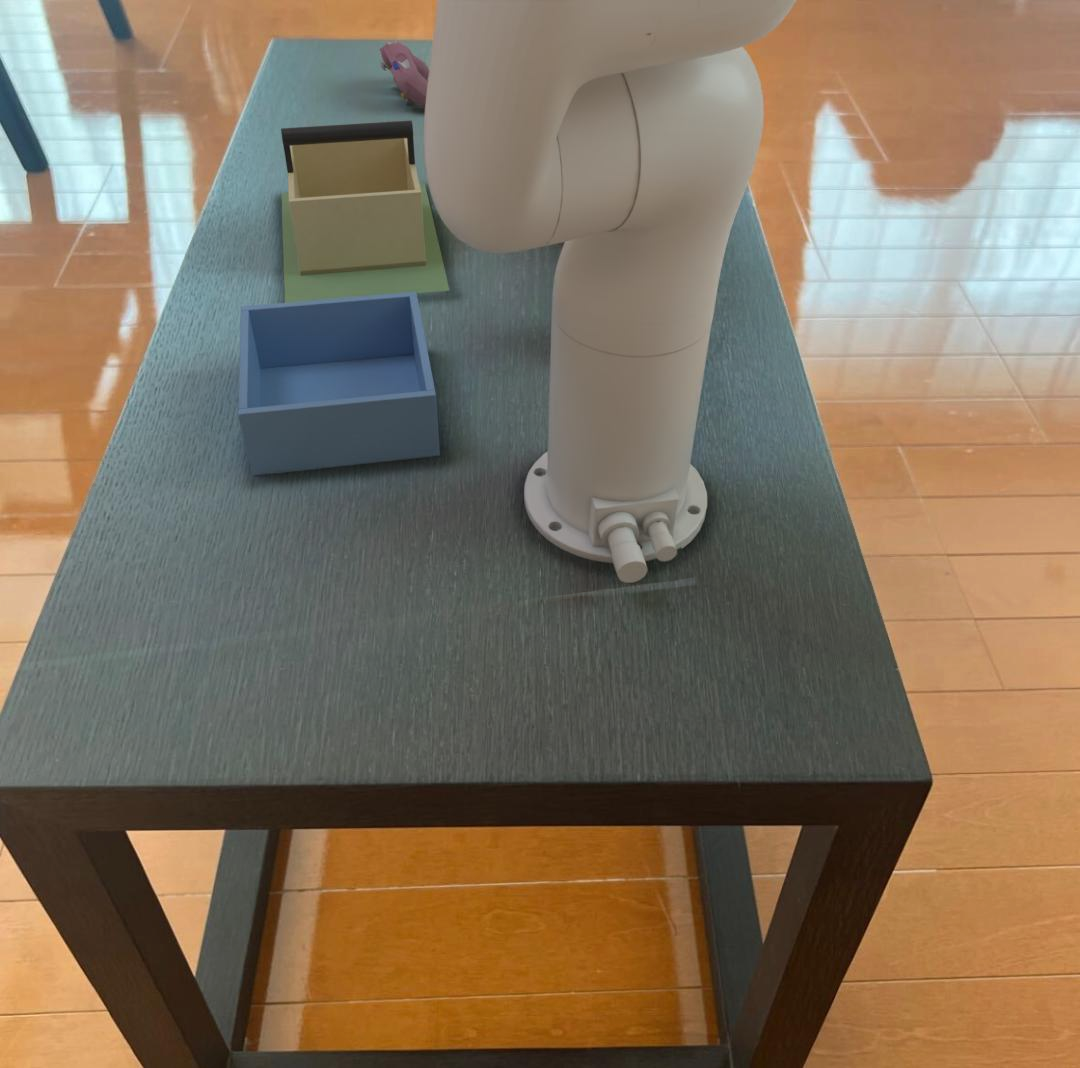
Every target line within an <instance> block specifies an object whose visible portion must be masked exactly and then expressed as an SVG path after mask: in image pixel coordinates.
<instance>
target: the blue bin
mask: <svg viewBox="0 0 1080 1068" xmlns="http://www.w3.org/2000/svg"><path fill="white" fill-rule="evenodd" d="M239 320H240V323H239V325H240V326H239V365H238V367H239V368H238V370H239V371H238V412H237V415H238V420H239V424H240V428H241V432H242V436H243V441H244V446H245V450H246V454H247V458H248V461H249V462H248V463H249V467H250V471H251V472H250V473H251V475H252V476H261V475H270V474H271V475H273V474H280V473H281V474H282V473H288V472H299V471H307V470H317V469H318V470H319V469H327V468H337V467H345V466H354V465H355V466H356V465H363V464H365V465H366V464H373V463H383V462H394V461H403V460H411V459H421V458H422V459H423V458H431V457H439V456H441V455H440V454H441V453H440V452H441V451H440V437H439V422H438V406H437V403H438V402H437V393H436V387H435V383H434V377H433V372H432V367H431V361H430V357H429V351H428V346H427V340H426V335H425V330H424V325H423V320H422V315H421V310H420V304H419V297H418V294H417V293H416V292H406V293H394V294H383V295H371V296H359V297H347V298H335V299H323V300H311V301H299V302H288V303H285V302H278V303H277V302H276V303H267V304H266V303H265V304H252V305H241V306H240V318H239Z"/></svg>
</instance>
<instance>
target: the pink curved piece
mask: <svg viewBox="0 0 1080 1068" xmlns="http://www.w3.org/2000/svg"><path fill="white" fill-rule="evenodd" d="M379 51H380V55H381V58H382V59H381V60H379V66H380V68H381V69H382V70H383V71H385V72H387V70H388V71H390V73H391V76H392V78H393V81H394V83H395V85H396V87H397V88H398V90H399V91H401V94H400V96H401V98H402V99H403V100H404V101H405V100H407V102H408V103H409V104H410V105H413V104H415V103H416V104H417V105H419V106H420V107H423V108H425V105H426V95H427V85H428V77H429V69H430V68H429V67H428V65H427V64H426V62H424V60H422V59H421V58H419V57H417V56H416V55H414V54H413V52H412V51H411V49H410V48H409V47H407V46H406V45H404V44H402V43H401V42H398V41H397V38H395V40H394V41H393V42H390V41H388V42H387V43H386V44H384V45H383V46H382V47H380V48H379Z"/></svg>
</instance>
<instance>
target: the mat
mask: <svg viewBox="0 0 1080 1068" xmlns="http://www.w3.org/2000/svg"><path fill="white" fill-rule="evenodd" d="M419 184H420V189H421V196H422V211H423V227H424V242H425V257H426V265H423V266H410V267H398V268H386V269H373V270H361V271H349V272H336V273H324V274H311V275H300V269H299V262H298V256H297V250H296V243H295V237H294V231H293V225H292V218H291V212H290V206H289V193H288V192H281V223H282V224H281V225H282V226H281V227H282V255H283V256H282V257H283V287H284V288H283V290H284V292H283V293H284V303H288V302H299V301H311V300H323V299H335V298H347V297H359V296H371V295H383V294H394V293H406V292H416V293H417V295H418V294H429V293H430V294H431V293H440V292H441V293H442V292H450V291H451V290H450V286H449V282H448V277H447V273H446V269H445V265H444V261H443V257H442V256H443V255H442V251H441V247H440V242H439V239H438V234H437V229H436V226H435V222H434V221H435V220H434V216H433V213H432V208H431V204H430V200H429V195H428V191H427V187H426V183H425V182H419Z"/></svg>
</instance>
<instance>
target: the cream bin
mask: <svg viewBox="0 0 1080 1068" xmlns="http://www.w3.org/2000/svg"><path fill="white" fill-rule="evenodd" d="M280 132H281V141H282V147H283V153H284V159H285V165H286V171H287V189H288V190H287V191H288V192H287V193H289V206H290V212H291V218H292V225H293V231H294V237H295V243H296V250H297V256H298V262H299V269H300V275H311V274H324V273H336V272H349V271H361V270H373V269H386V268H398V267H410V266H423V265H426V257H425V242H424V227H423V211H422V196H421V189H420V184H419V183H420V180H419V176H418V171H417V167H416V157H415V143H414V125H413V121H412V120H410V119H409V120H397V121H396V120H395V121H379V122H377V121H376V122H365V123H347V124H345V123H344V124H331V125H330V124H329V125H316V126H314V125H312V126H299V127H298V126H297V127H282V128H281V129H280Z"/></svg>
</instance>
